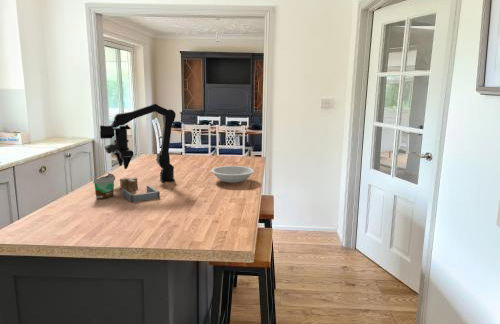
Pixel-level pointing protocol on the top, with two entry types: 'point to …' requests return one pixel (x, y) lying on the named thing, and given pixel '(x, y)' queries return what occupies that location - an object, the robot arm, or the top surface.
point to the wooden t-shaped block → (129, 184)
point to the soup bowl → (232, 173)
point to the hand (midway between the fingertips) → (123, 167)
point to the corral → (142, 195)
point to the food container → (104, 187)
